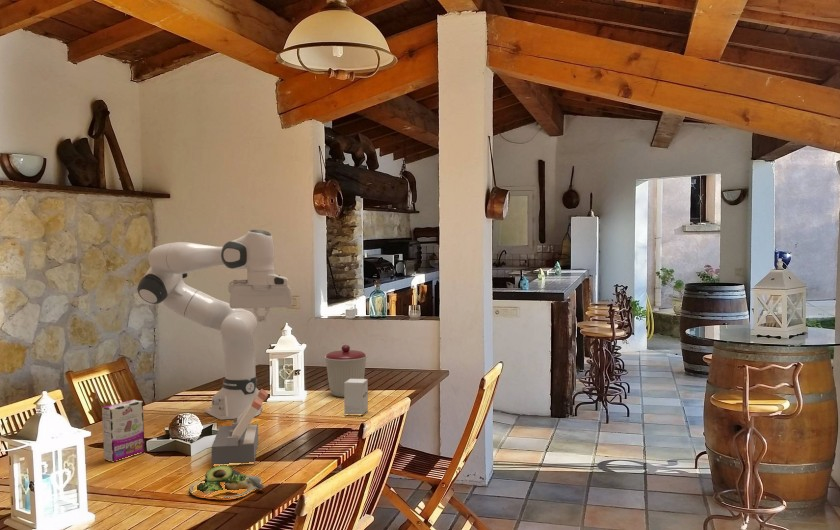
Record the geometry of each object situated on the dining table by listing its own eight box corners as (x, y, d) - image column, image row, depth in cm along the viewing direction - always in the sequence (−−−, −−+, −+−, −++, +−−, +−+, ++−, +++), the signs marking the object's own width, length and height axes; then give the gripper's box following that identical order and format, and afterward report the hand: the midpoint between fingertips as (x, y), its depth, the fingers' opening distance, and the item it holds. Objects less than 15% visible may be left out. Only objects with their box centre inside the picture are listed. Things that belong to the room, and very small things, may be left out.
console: (211, 467, 201) (211, 438, 200) (220, 444, 223) (219, 418, 223) (254, 464, 203) (253, 436, 202) (258, 442, 225) (257, 416, 225)
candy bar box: (135, 450, 217) (133, 398, 217) (145, 453, 215) (144, 400, 214) (102, 460, 208) (101, 406, 207) (112, 463, 205) (111, 408, 204)
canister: (362, 388, 302) (361, 340, 301) (372, 397, 285) (372, 347, 284) (321, 391, 296) (320, 343, 295) (329, 401, 279) (328, 349, 278)
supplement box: (363, 416, 255) (362, 382, 255) (343, 415, 257) (343, 382, 256) (368, 411, 263) (368, 378, 262) (349, 410, 264) (349, 378, 264)
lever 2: (227, 441, 202) (254, 401, 203) (229, 436, 207) (255, 397, 208) (235, 445, 203) (261, 405, 204) (236, 440, 208) (262, 401, 209)
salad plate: (281, 483, 188) (281, 466, 188) (241, 508, 172) (241, 489, 172) (223, 474, 196) (223, 458, 195) (179, 497, 179) (179, 479, 179)
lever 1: (232, 426, 217) (260, 392, 218) (233, 422, 222) (261, 388, 223) (239, 431, 218) (267, 396, 219) (240, 427, 223) (268, 393, 224)
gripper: (227, 280, 221) (228, 323, 221) (292, 279, 224) (292, 321, 225) (229, 279, 227) (229, 321, 228) (292, 278, 231) (292, 319, 231)
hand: (261, 321), depth 226 cm, fingers closed
